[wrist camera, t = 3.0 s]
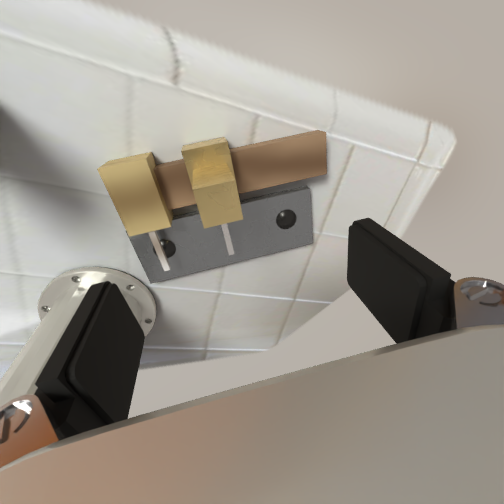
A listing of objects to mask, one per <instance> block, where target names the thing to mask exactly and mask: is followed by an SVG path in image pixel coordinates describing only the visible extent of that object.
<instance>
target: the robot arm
mask: <svg viewBox="0 0 504 504" xmlns="http://www.w3.org/2000/svg"><path fill="white" fill-rule="evenodd" d="M450 277H451V274H450V273H449V272H447V271H446V270H444V269H443V268H441V267H440V266H438V265H437V264H436V263H434V262H433V261H431V260H430V259H428V258H427V257H425V256H424V255H422V254H421V253H419V252H418V251H417V250H415V249H414V248H412V247H411V246H409V245H408V244H406V243H405V242H404V241H402V240H401V239H399V238H398V237H396V236H395V235H393V234H392V233H391V232H389V231H388V230H386V229H385V228H383V227H382V226H380V225H379V224H377V223H376V222H375V221H373V220H372V219H370V218H365V219H361V220H357V221H354V222H353V224H352V226H350V227H349V237H348V267H347V281H348V284H349V286H350V287H351V288H352V290H353V291H354V292H355V293H356V295H357V296H358V297H359V298H360V299H361V301H362V302H363V303H364V304H365V306H366V307H367V308H368V309H369V310H370V312H371V313H372V314H373V315H374V316H375V318H376V319H377V320H378V321H379V323H380V324H381V325H382V326H383V328H384V329H385V330H386V331H387V332H388V334H389V335H390V336H391V337H392V339H393V340H394V341H395V342H396V343H397V344H394V345H390V346H386V347H383V348H379V349H375V350H372V351H368V352H364V353H361V354H357V355H353V356H350V357H346V358H342V359H339V360H335V361H331V362H328V363H324V364H320V365H317V366H313V367H309V368H306V369H302V370H299V371H295V372H291V373H288V374H284V375H281V376H277V377H274V378H270V379H267V380H263V381H259V382H256V383H252V384H248V385H245V386H241V387H238V388H234V389H231V390H227V391H223V392H220V393H216V394H213V395H210V396H206V397H203V398H199V399H195V400H192V401H188V402H185V403H181V404H178V405H174V406H171V407H167V408H164V409H160V410H157V411H154V412H150V413H146V414H143V415H139V416H136V417H132V418H129V419H128V414H129V409H130V405H131V400H132V395H133V390H134V386H135V382H136V377H137V372H138V368H139V365H140V358H141V354H142V349H143V344H144V339H145V336H147V334H148V333H149V332H150V331H151V329H152V327H153V325H154V323H155V318H156V303H155V300H154V298H153V296H152V294H151V292H150V291H149V290H148V289H147V287H146V286H144V285H143V284H142V283H141V282H140V281H139V280H137V279H135V278H134V277H132V276H130V275H128V274H126V273H123V272H121V271H118V270H114V269H109V268H102V267H84V268H79V269H73V270H70V271H68V272H65V273H63V274H61V275H59V276H58V277H56V278H55V279H53V280H52V281H51V282H50V283H49V284H48V285H47V287H46V288H45V289H44V291H43V292H42V293H41V296H40V298H39V301H38V313H39V317H40V319H41V323H40V324H39V325H38V327H37V328H36V330H35V331H34V333H33V334H32V335H31V337H30V338H29V340H28V341H27V343H26V344H25V346H24V347H23V348H22V350H21V351H20V353H19V354H18V356H17V357H16V358H15V360H14V361H13V363H12V364H11V366H10V367H9V368H8V370H7V371H6V373H5V374H4V376H3V377H2V379H1V380H0V504H504V285H503V284H501V283H499V282H496V281H493V280H490V279H485V278H479V277H468V278H463V279H460V280H458V281H457V282H456V283H455V282H454V281H453V280H451V279H450Z"/></svg>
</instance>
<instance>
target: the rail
mask: <svg viewBox="0 0 504 504" xmlns="http://www.w3.org/2000/svg"><path fill="white" fill-rule="evenodd" d="M229 150H230V155H231V160H232V165H233V170H234V175H235V180H236V185H237V190H238V194H241V193H245V192H250V191H254V190H258V189H263V188H267V187H272V186H276V185H280V184H285V183H289V182H293V181H298V180H302V179H306V178H311V177H315V176H319V175H324V174H327V159H326V132H324V131H319V130H316V131H311V132H307V133H302V134H297V135H293V136H288V137H283V138H279V139H274V140H269V141H265V142H260V143H255V144H251V145H246V146H241V147H237V148H232V149H229ZM97 170H98V172H99V174H100V176H101V178H102V180H103V182H104V184H105V186H106V189H107V191H108V193H109V195H110V197H111V199H112V201H113V203H114V205H115V207H116V210H117V212H118V214H119V216H120V218H121V220H122V222H123V224H124V226H125V229H126V231H127V233H128V235H129V237H130V236H134V235H138V234H143V233H147V232H148V234H149V236H150V239H151V241H152V243H153V246H154V248H155V250H156V253H157V255H158V257H159V260H160V262H161V264H162V267H163V269H164V271H168V270H170V268H171V267H170V264H169V262H168V259H167V257H166V254H165V252H164V249H163V247H162V245H161V242H160V240H159V237H158V235H157V232H156V230H160V229H164V228H168V227H171V224H172V219H173V211H172V209H176V208H180V207H184V206H189V205H193V204H197V203H196V200H195V196H194V193H193V189H192V185H191V182H190V179H189V175H188V172H187V168H186V165H185V162H184V159H181V160H176V161H172V162H167V163H163V164H158V165H156V163H155V160H154V158H153V155H152V152H149V153H145V154H140V155H135V156H130V157H126V158H121V159H116V160H111V161H108V162H107V163H105V164H104V165H102V166H101V167H100V168H98V169H97Z"/></svg>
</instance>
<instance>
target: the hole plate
mask: <svg viewBox="0 0 504 504" xmlns="http://www.w3.org/2000/svg"><path fill="white" fill-rule="evenodd" d="M240 205H241V209H242V215H243V220H238V221H234V222H230V223H227V225H228V230H229V234H230V238H231V242H232V246H233V250H234V254H233V255H229V253H228V250H227V246H226V242H225V238H224V234H223V230H222V226H221V225H217V226H213V227H209V228H205V229H204V227H203V223H202V220H201V217H200V213H199V211H196V212H191V213H187V214H183V215H178V216H174V217H173V219H172V224H171V227H168V228H164V229H160V230H156V232H157V235H158V237H159V240H160V242H161V245H162V247H163V249H164V252H165V254H166V257H167V259H168V262H169V264H170V267H171V268H170V270H168V271H164V269H163V267H162V264H161V262H160V260H159V257H158V255H157V253H156V250H155V248H154V246H153V243H152V241H151V239H150V236H149V234H148V232H147V233H143V234H138V235H134V236H130V237H129V235H128V233H127V231H126V233H127V235H128V237H129V239H130V241H131V243H132V245H133V247H134V249H135V252H136V254H137V256H138V258H139V260H140V262H141V264H142V266H143V268H144V270H145V272H146V275H147V277H148V279H149V281H150V283H155V282H159V281H163V280H167V279H171V278H175V277H179V276H183V275H187V274H191V273H195V272H199V271H203V270H207V269H211V268H215V267H219V266H223V265H227V264H231V263H235V262H239V261H243V260H247V259H251V258H255V257H259V256H263V255H268V254H272V253H276V252H280V251H284V250H288V249H292V248H296V247H300V246H304V245H308V244H312V243H313V236H312V217H311V198H310V188H309V187H308V186H304V187H299V188H295V189H291V190H286V191H282V192H278V193H273V194H269V195H265V196H260V197H256V198H252V199H247V200H243V201H240Z"/></svg>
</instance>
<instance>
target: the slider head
mask: <svg viewBox="0 0 504 504" xmlns="http://www.w3.org/2000/svg"><path fill="white" fill-rule="evenodd" d="M181 152H182V155H183V158H184V162H185V165H186V168H187V172H188V175H189V179H190V182H191V185H192V189H193V193H194V196H195V200H196V203H197V206H198V210H199V213H200V217H201V220H202V223H203V227H204V229H205V228H209V227H213V226H217V225H221V226H222V230H223V234H224V238H225V242H226V246H227V250H228V253H229V255H233V254H234V250H233V246H232V242H231V238H230V234H229V230H228V225H227V223H230V222H234V221H238V220H243V215H242V209H241V205H240V200H239V195H238V190H237V185H236V180H235V175H234V170H233V165H232V160H231V155H230V150H229V146H228V141H227V140H226V139H225V138H224V137H222V138H217V139H212V140H208V141H203V142H198V143H193V144H189V145H184V146H183V147H182V151H181Z"/></svg>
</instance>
